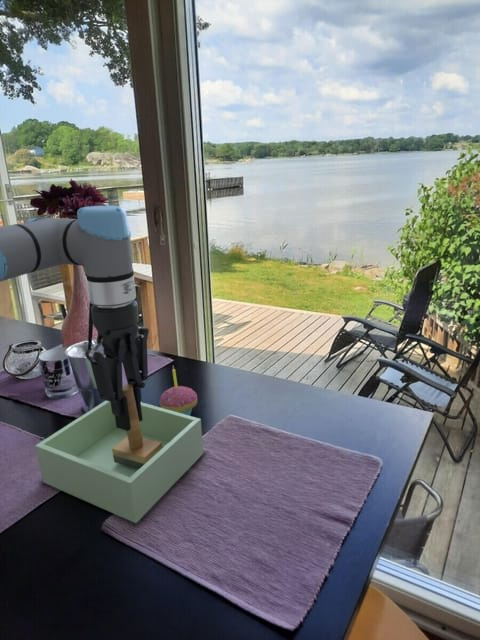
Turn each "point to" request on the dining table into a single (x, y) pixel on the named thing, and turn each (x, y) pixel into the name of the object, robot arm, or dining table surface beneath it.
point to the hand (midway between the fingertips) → (129, 423)
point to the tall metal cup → (84, 369)
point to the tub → (113, 478)
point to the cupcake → (178, 398)
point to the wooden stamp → (134, 438)
